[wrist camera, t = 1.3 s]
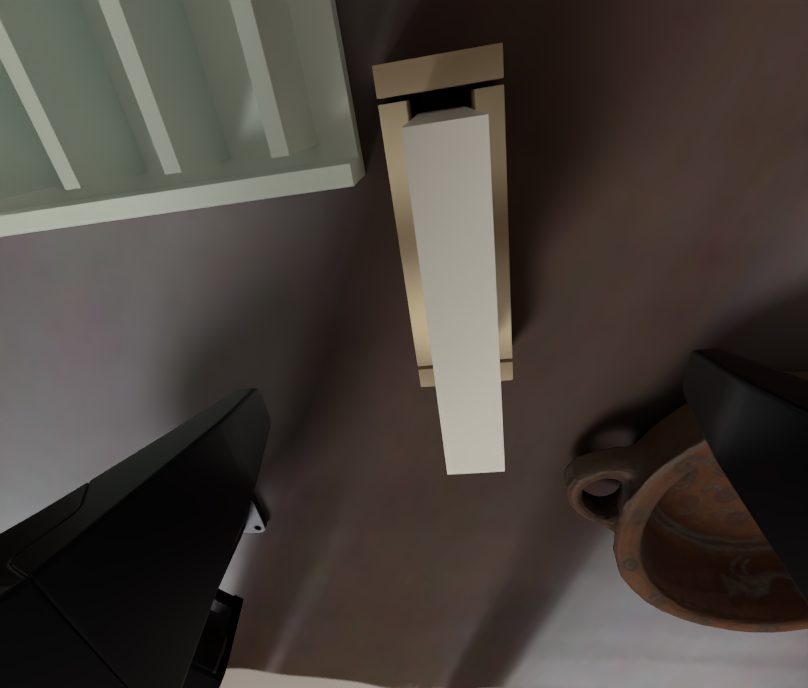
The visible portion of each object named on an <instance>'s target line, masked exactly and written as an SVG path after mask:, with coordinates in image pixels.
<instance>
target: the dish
mask: <svg viewBox="0 0 808 688" xmlns="http://www.w3.org/2000/svg"><path fill="white" fill-rule="evenodd" d="M787 373H790V374H793V375H796V376H799V377H802V378H805V379H807V380H808V371H796V372H787ZM602 479H616V480H619V481H620V482H621V485H620V487H619V488H618V489H617V490H616V491H615V492H614V493H612V494H610V495H607V496H600V497H599V496H594V495H591V494H589V493H587V492H585V491H584V490H583V489H584V488H585V487H586V486H587V485H589V484H590V483H592V482H594V481H598V480H602ZM564 482H565V487H566V490H567V496H568V501H569V503H570V504H571V506H572V507H573V508H574V510H576V511H577V512H578V513H579V514H580V515H582V516H583V517H585V518H587V519H589V520H591V521H594V522H596V523H599V524H601V525H603V526H605V527H607V528H609V529H610V530H612V531H613V532H614V533H615V536H614V545H613V550H614V554H615V558H616V562H617V566H618V570H619V572H620V575H621V576H622V578H623V579H624V580H625V582H626V583H627V584H628V585H629V586H630V587H631V589H632V590H633V591H634V592H636V593H637V594H638V595H639V596H640V597H641V598H642V599H644V600H645V601H646V602H647V603H649V604H651V605H653V606H654V607H656V608H658V609H659V610H661V611H664V612H666V613H669V614H671V615H673V616H676V617H678V618H681V619H683V620H687V621H690V622H694V623H697V624H701V625H705V626H711V627H716V628H722V629H728V630H733V631H743V632H786V631H794V630H801V629H808V603H807V602H806V600H805V599H804V597H803V596H802V594H801V593H800V591H799V589H798V588H797V586H796V585H795V583H794V582H793V580H792V578H791V577H790V575H789V574H788V572H787V571H786V569H785V568H784V566H783V564H782V563H781V561H780V560H779V558H778V557H777V555H776V554H775V552H774V550H773V549H772V547H771V546H770V544H769V543H768V541H767V539H766V538H765V536H764V535H763V533H762V532H761V530H760V529H759V527H758V525H757V524H756V522H755V521H754V519H753V518H752V516H751V515H750V513H749V511H748V510H747V508H746V507H745V505H744V504H743V502H742V500H741V499H740V497H739V496H738V494H737V493H736V491H735V490H734V488H733V486H732V485H731V483H730V482H729V480H728V479H727V477H726V476H725V474H724V472H723V471H722V469H721V467H720V466H719V464H718V463H717V461H716V459H715V457H714V455H713V453H712V451H711V449H710V447H709V445H708V443H707V441H706V439H705V437H704V435H703V433H702V431H701V429H700V427H699V425H698V423H697V421H696V419H695V417H694V415H693V412H692V410H691V408H690V406H689V404H688V403H686V404H685V405H683V406H682V407H680V408H678V409H677V410H675V411H674V412H672V413H671V414H670V415H668V416H667V417H665V418H664V419H662V420H661V421H660V422H659V423H657V424H656V425H655V426H654V427H652V428H651V429H650V430H649V431H648V432H647V433H646V434H645V435H644V436H643V437H642V438H641V439H640V440H639V441H638V442H637V443H636V444H634V445H632V446H627V447H613V448H608V449H602V450H597V451H593V452H590V453H587V454H585V455H582V456H579V457H577V458H575V459H574V460H573V461H572V462H571V463H570V464H569V465H568V466H567V467H566V469H565V473H564Z"/></svg>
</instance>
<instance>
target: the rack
mask: <svg viewBox="0 0 808 688" xmlns="http://www.w3.org/2000/svg"><path fill="white" fill-rule="evenodd" d="M365 174H366V173H365V168H364V162H363V156H362V151H361V145H360V139H359V134H358V128H357V122H356V117H355V111H354V105H353V100H352V94H351V88H350V83H349V77H348V71H347V66H346V60H345V54H344V49H343V43H342V38H341V32H340V26H339V21H338V15H337V9H336V4H335V0H0V237H2V236H9V235H16V234H23V233H30V232H37V231H44V230H51V229H58V228H65V227H72V226H79V225H86V224H93V223H100V222H107V221H114V220H121V219H128V218H135V217H142V216H149V215H156V214H163V213H170V212H177V211H184V210H191V209H198V208H205V207H212V206H219V205H226V204H233V203H240V202H247V201H254V200H261V199H268V198H275V197H282V196H289V195H296V194H303V193H310V192H317V191H324V190H331V189H338V188H345V187H352V186H355V185H356V184H357V182H358V181H359V180H360V179H361V178H362V177H363V176H364V175H365Z"/></svg>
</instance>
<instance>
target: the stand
mask: <svg viewBox="0 0 808 688" xmlns="http://www.w3.org/2000/svg"><path fill="white" fill-rule="evenodd" d="M372 70H373V76H374V83H375V89H376V96H377V99H386V98H392V97H398V96H404V95H410V94H416V93H422V92H428V91H434V90H440V89H446V88H452V87H458V86H464V85H470V84H475V83H481V82H487V81H493V80H498V79H501V78H504V67H503V42H502V43H497V44H491V45H485V46H480V47H474V48H469V49H463V50H458V51H452V52H446V53H441V54H435V55H430V56H424V57H418V58H413V59H407V60H402V61H396V62H391V63H385V64H379V65H374V66H372ZM470 97H471V109H475V110H478V111H481V112H484V113H487V114H488V116H489V138H490V159H491V181H492V202H493V224H494V246H495V267H496V289H497V311H498V332H499V354H500V375H501V381H504V380H513V365H512V359H511V358H512V332H511V299H510V266H509V233H508V200H507V166H506V133H505V100H504V84H503V85H497V86H491V87H485V88H479V89H474V90H470ZM378 109H379V115H380V122H381V129H382V135H383V142H384V148H385V155H386V161H387V168H388V174H389V181H390V187H391V194H392V200H393V207H394V214H395V220H396V227H397V233H398V240H399V246H400V253H401V259H402V266H403V272H404V279H405V286H406V292H407V299H408V305H409V312H410V318H411V325H412V331H413V338H414V344H415V351H416V357H417V364H418V366H419V369H418V371H419V377H420V384H421V387H428V386H435V378H434V371H433V363H432V356H431V348H430V341H429V333H428V326H427V318H426V311H425V303H424V296H423V288H422V281H421V273H420V266H419V258H418V251H417V243H416V236H415V228H414V221H413V213H412V206H411V198H410V191H409V183H408V176H407V168H406V161H405V153H404V146H403V138H402V131H401V128H402V127H403V126H404V125H405V124H406V123H408V122H409V121H410V120H411V119H412V113H411V105H410V100H408V101H401V102H395V103H389V104H383V105H378Z"/></svg>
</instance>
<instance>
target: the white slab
mask: <svg viewBox="0 0 808 688" xmlns="http://www.w3.org/2000/svg"><path fill="white" fill-rule="evenodd" d="M401 131H402V138H403V146H404V153H405V161H406V168H407V176H408V183H409V191H410V198H411V206H412V213H413V221H414V228H415V236H416V243H417V251H418V258H419V266H420V273H421V281H422V288H423V296H424V303H425V311H426V318H427V326H428V333H429V341H430V348H431V356H432V363H433V371H434V378H435V386H436V393H437V401H438V408H439V416H440V423H441V430H442V438H443V445H444V453H445V460H446V468H447V475H450V474H468V473H487V472H505V462H504V440H503V419H502V397H501V375H500V354H499V332H498V311H497V289H496V267H495V246H494V224H493V202H492V181H491V159H490V138H489V116H488V114H487V113H484V112H481V111H478V110H475V109H471V108H468V107H465V106H459V107H453V108H447V109H441V110H434V111H428V112H422V113H418V114H417V115H416V116H415V117H414V118H412V119H411V120H410V121H409V122H408V123H406V124H405V125H404V126H403V127H402V128H401Z"/></svg>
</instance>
